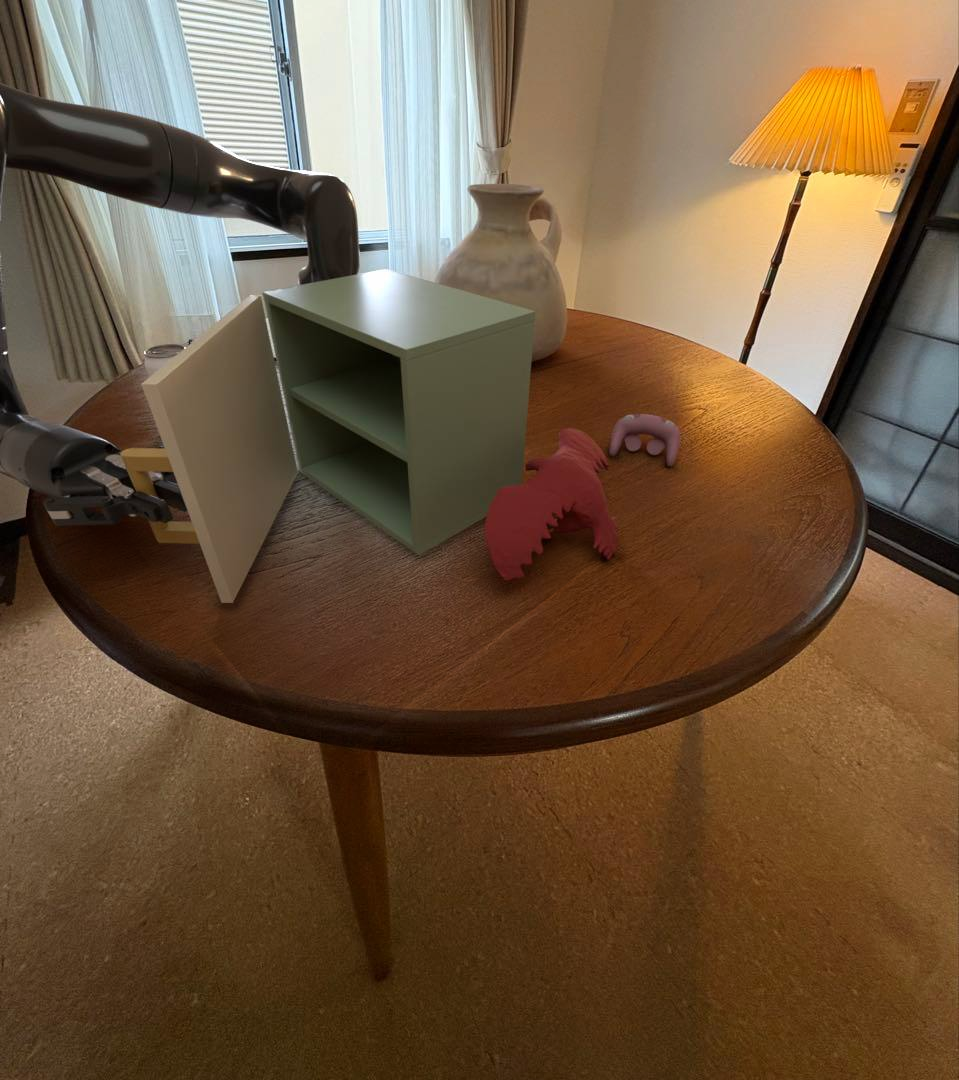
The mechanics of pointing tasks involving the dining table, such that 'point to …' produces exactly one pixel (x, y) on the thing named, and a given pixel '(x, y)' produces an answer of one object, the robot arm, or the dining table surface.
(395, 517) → the cupboard
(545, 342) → the jug
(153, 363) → the can
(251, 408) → the door
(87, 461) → the robot arm
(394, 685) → the dining table surface
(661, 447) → the video game controller
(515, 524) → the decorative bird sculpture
